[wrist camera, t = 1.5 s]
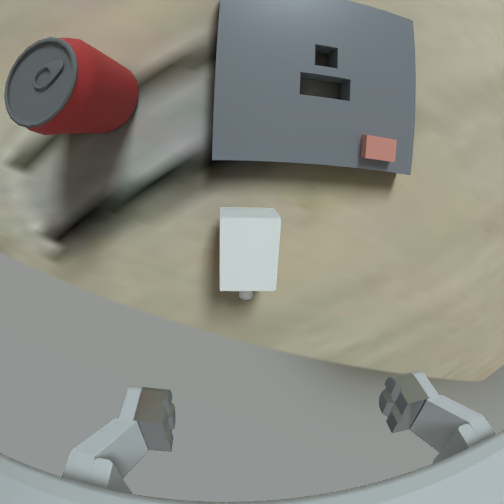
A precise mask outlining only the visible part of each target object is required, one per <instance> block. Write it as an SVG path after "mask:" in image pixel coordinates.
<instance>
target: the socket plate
mask: <svg viewBox="0 0 504 504" xmlns="http://www.w3.org/2000/svg"><path fill="white" fill-rule="evenodd" d="M315 52H316V53H322V54H328V55H329V65H328V67H325V66H318V65H315ZM300 78H305V79H313V80H320V81H327V82H333V83H339V84H340V100H339V99H333V98H326V97H318V96H310V95H301V94H300ZM415 90H416V78H415V45H414V30H413V21H412V20H409V19H406V18H404V17H401V16H398V15H395V14H392V13H389V12H386V11H383V10H380V9H376V8H373V7H370V6H366V5H362V4H359V3H355V2H351V1H347V0H220V9H219V22H218V36H217V52H216V69H215V89H214V113H213V144H212V160H243V161H271V162H290V163H305V164H319V165H330V166H341V167H351V168H361V169H369V170H378V171H385V172H393V173H400V174H407V175H410V173H411V164H412V153H413V140H414V124H415Z"/></svg>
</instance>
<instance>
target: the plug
mask: <svg viewBox="0 0 504 504" xmlns="http://www.w3.org/2000/svg"><path fill="white" fill-rule="evenodd" d="M280 227H281V218H280V216H279V215H278V213H277V212H276V210H275V209H274V208H244V207H221V209H220V291H239V298H241V299H244V300H248V299H251V298H252V297H253V291H276V281H277V268H278V255H279V241H280Z"/></svg>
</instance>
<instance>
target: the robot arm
mask: <svg viewBox="0 0 504 504" xmlns="http://www.w3.org/2000/svg"><path fill="white" fill-rule="evenodd" d="M385 386H386V388H385V389H384V390H383V391H382V393H381V395H380V397H379V406H380V409H381V411H382V414H384V415H386V416H387V421H386V422H387V424H388V426H389V428H390V430H391V432H392V433H395V432H399V431H404V430H407V429H410V431H412V432H413V433H414V434H416V435H417V436H418V437H420V438H421V439H422V440H423V441H425V442H426V443H428V444H429V445H430V446H431V447H433V448H434V449H436V450H437V451H438V452H440V453H439V454H438V455H437V456H436V458H435V459H434V461H433V464H431V465H429V466H426V467H423V468H420V469H418V470H415V471H412V472H409V473H406V474H403V475H400V476H397V477H393V478H390V479H386V480H383V481H379V482H376V483H372V484H368V485H364V486H360V487H355V488H351V489H346V490H342V491H337V492H331V493H326V494H320V495H313V496H306V497H299V498H290V499H281V500H268V501H251V502H203V501H202V502H201V501H185V500H172V499H164V498H155V497H147V496H141V495H135V494H132V492H131V491H130V489H129V488H128V486H127V485H126V483H125V482H124V480H123V478H124V477H125V476H126V475H127V474H128V473H129V472H130V470H132V468H133V467H134V466H135V465H136V464H137V463H138V462H139V461H140V460H141V459H142V458H143V457H144V456H145V454H146V453H147V452H148V450H158V451H171V450H172V443H173V435H172V430H173V429H174V428H175V407H174V404H173V403H171V402H172V393H171V391H170V390H166V389H155V388H145V387H135V386H130V387H129V388H128V390H127V393H126V396H125V399H124V402H123V405H122V409H121V411H120V415H119V418H114V419H113V420H111V421H110V422H109V423H108V424H106V425H105V426H103V427H102V428H101V429H99V430H98V431H97V432H95V433H94V434H93V435H91V436H90V437H89V438H87V439H86V440H85V441H83V442H82V443H80V444H79V445H78V446H76V447H75V448H74V449H72V450H71V453H70V455H69V458H68V461H67V464H66V466H65V469H64V472H63V475H62V477H60V476H56V475H53V474H50V473H47V472H45V471H42V470H39V469H36V468H34V467H31V466H28V465H26V464H24V463H21V462H19V461H16V460H14V459H12V458H9V457H7V456H5V455H3V454H1V453H0V504H504V430H503V431H501V432H499V433H497V434H495V432H494V431H493V429H492V428H491V427H490V425H489V424H488V422H487V421H486V419H485V418H484V417H483V415H480V414H479V413H477V412H475V411H473V410H471V409H469V408H467V407H464V406H463V405H460V404H458V403H456V402H454V401H453V400H451V399H449V398H447V397H445V396H443V395H441V396H439V395H438V393H437V392H436V390H435V389H434V387H433V386H432V385H431V383H430V382H429V380H428V379H427V377H426V376H425V375H424V373H423V372H421V371H417V372H412V373H407V374H402V375H397V376H393V377H389V378H388V379H387V380H386V382H385Z"/></svg>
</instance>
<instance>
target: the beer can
mask: <svg viewBox="0 0 504 504" xmlns="http://www.w3.org/2000/svg"><path fill="white" fill-rule="evenodd" d="M138 92H139V89H138V85H137V80H136V78H135V77H134V75H133V74H132V72H131V71H129V70H128V69H126V68H125V67H124V66H122V65H121V64H119V63H117V62H116V61H114V60H113V59H111V58H110V57H108V56H106V55H105V54H103V53H102V52H100V51H98V50H97V49H95V48H93V47H92V46H90V45H88V44H87V43H85V42H83V41H82V40H79V39H72V38H52V37H49V38H46V39H42V40H39V41H37V42H35V43H34V44H32V45H31V46H29V47H28V48H27V49H26V50H25V51H24V52H23V53H22V54H21V55H20V56H19V57H18V58H17V60H16V62H15V63H14V65H13V67H12V68H11V70H10V73H9V76H8V79H7V81H6V87H5V96H4V97H5V104H6V109H7V111H8V113H9V116H10V118H11V119H12V120H13V121H14V122H15V123H17V124H18V125H20V126H23V127H26V128H27V129H29V130H31V131H33V132H37V133H40V134H43V135H53V134H75V133H105V132H110V131H112V130H115V129H117V128H119V127H120V126H121V125H122V124H124V123H125V122H126V121H127V120H128V119H129V117H130V116H131V115H132V113H133V112H134V109H135V107H136V104H137V102H138Z"/></svg>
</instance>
